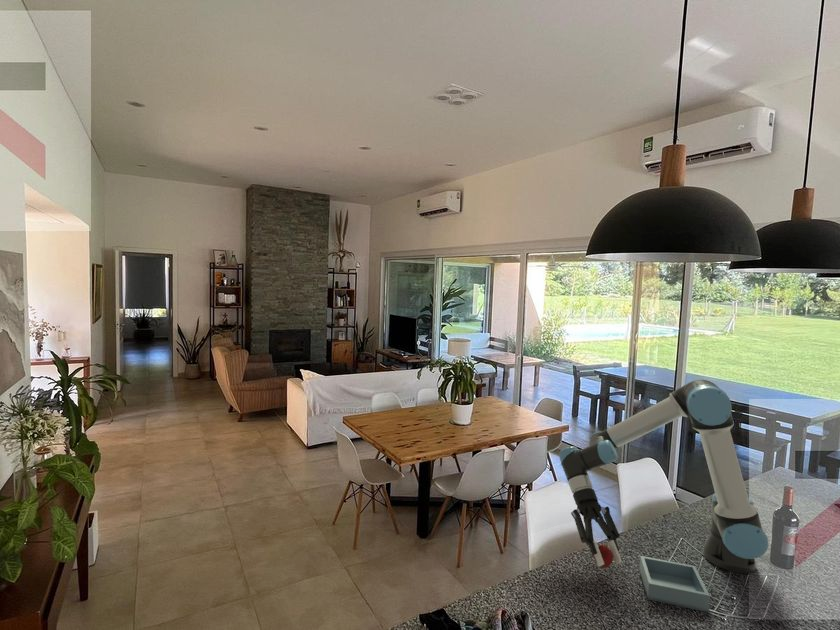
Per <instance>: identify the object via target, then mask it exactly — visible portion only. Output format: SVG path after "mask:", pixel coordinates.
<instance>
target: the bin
mask: <svg viewBox="0 0 840 630" xmlns="http://www.w3.org/2000/svg"><path fill="white" fill-rule="evenodd" d="M638 567H639V569H638V570H639V573H640V577H641V581H642V583H643V588H644V591H645V595H646V597H647V600H649V601H654V602H658V603H663V604H668V605H673V606H676V607H682V608H687V609H692V610H697V611H700V612H706V613H709V612H710V601H711V600H710V599H711V595H710V593H709V591H708V589H707V587H706V585H705V583H704V581H703V579H702V576H700V574H699V571H698V569H697V567H696V565H691V564H687V563H686V564H685V563H680V562H676V561H672V560H671V561H669V560H665V559H660V558H654V557H649V556H644V555H640V556H639V566H638Z"/></svg>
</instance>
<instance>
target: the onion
mask: <svg viewBox="0 0 840 630" xmlns="http://www.w3.org/2000/svg"><path fill="white" fill-rule="evenodd" d="M606 545H607V544H606V543H604V542H603V543H601V545H598V548H599V550H600V553H601V556H602V559H603V561H604V565H602V566H601V567H600V568H602V569H605V568H608V567H610V566H611V565H612V563H613V562H614V558H613V555H612V553H611V550H610V548H609V547H607V546H606ZM593 558H594V562H595V563H596V564H597V561H596V558H595V556H594V555H593Z"/></svg>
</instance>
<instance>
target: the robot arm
mask: <svg viewBox="0 0 840 630" xmlns="http://www.w3.org/2000/svg"><path fill="white" fill-rule="evenodd" d="M681 417H684V418H688V417H689V419H690V423H691V426H692V427H691V428H692V429H694V430H695V431H697V432H698V433H699V437H700V441H701V445H702V449H703V452H704V455H705V459H706V463H707V466H708V470H709V475H710V479H711V482H712V486H713V489H714V493H713V494H712V500H711V503H712V504H711V516H710V517H711V518H710V530H709V531H710V532H709V534H708V536H707V539H706V540H705V542H704V544H703V546H702V547H703V548H702V555H703V557H704V558H705V560H707V561H709V562H710V563H711V564H713V565H714V566H716V567H719V568H721V569H722V570H725V571H729V572H733V573H738V574H752V573H754V572H755V571H756V566H757V565H756V564H757V563H756V559H757V558H760V557H762V556H764V555H765V554H766V553H767V551H768V549H769V540H768V535H766V532H764V529H763V526H762V523H761V519H760V516H759V513H758V509H757V507H756V506H755V505H754V504H755V503H754V502H753V500H751V499H750V498H749V496H748V493H747V489H746V485H745V481H744V478H743V474H742V470H741V466H740V462H739V459H738V455H737V451H736V447H735V444H734V439H733V437H732V436H733V435H732V433H731V429H733V426H735V423H734V419H733V415H732V402H731V399H730V397H729V395H727V393H726V392H725V391H724V390H723V389H721V388H719V387H718V386H717V384H716V383H714V382H713V381H710V380H707V379H706V380H705V379H696V380H695V379H694V380H692V381H689V382H688V383H686V384H684V385H683V386H681V387H679V388H677V389H676V390H674V391H671V392H669V396H668V397H666V398H664V399H663V400H661V401H659V402H657V403H655V404H653V405H652V406H651V405H650V406H649V407H647V408H646V409H643V410H641V411H639V412H637V413H636V414H633V415H632V416H629V417H627V418H626V419H624V420H622V421H620V422H618V423H616V424H615V425H612V426H610V427H608V428H606V429H605V430H602V431H596V432H594V433H592V435H591V437H590V438H589V445H588V446H587V447H585V448H583V449H578V447H577V446H568V447H564V448H562V449H561V450H560V451H559V452H558V457H559V460H560V465H561V466H562V469H563V472H564V475H565V477H566V480H567V483H568V486H569V488H570V492H571V493H572V497H573V500H574V503H575V505H576V506H577V507H576V509H574V510H572V511H571V512H570V514H571V516H572V517H573V519H574V522H575V525H576V529H577V532H578V535H579V538H580V541H581V543H585V545H587V546H588V548H589V550H590V553H591V554H592V555H593V557H594V556H595V558H596V561H597V563H596V564H597V566H598V567H599V568H602V567H601V566H602V565H604V561H603V559H602V556H601V553H600V550H599V548H598V547H599V544H598V542H597V541H594V540H595V539H594V533H593V525H592V520H594V521H595V523H597V524H598V526H599V527H600V529H601V530H602V532H603V534H604V535H605V537H606V538H607V540H608V542H607V546H608V548H609V550H610V551H611V553H612V555H613V562H614V563H615V565H620V564H621V563H623V559H622V558H621V555H620V553H619V551H620V548H619V545H618V543H617V539H618V538H620V533H619V531H618V529H617V526H616V524H615V522H614V520H613V519H614V518H612V515H611V511H610V507H609V506H605V507H604V506H601V504H600V503H599V501H598V496H597V493H596V491H595V489H594V486H593V484H592V481H591V478H590V475H589V474H588V472H589V471H592V470H595V469H598V468H600V467H603V466H605V465H609V464H611V463H613V462H615V461H617V460H618V459H619V456H618V452H617V449H619V448H620V447H622V446H625V445H626V444H628V443H630V442H632V441H635V440H637V439H639V438H640V437H643V436H644V435H647V434H649V433H650V432H653V431H654V430H655V431H656V430H657V429H659V428H660V427H664V426H666V425H667V424H670V423H671V422H674V421H675V420H677V419H679V418H681ZM582 518H583V520H582ZM598 567H597V568H598Z"/></svg>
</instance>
